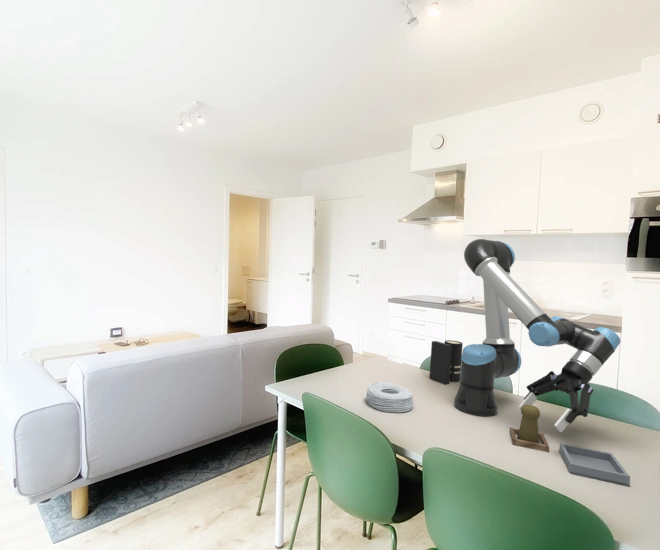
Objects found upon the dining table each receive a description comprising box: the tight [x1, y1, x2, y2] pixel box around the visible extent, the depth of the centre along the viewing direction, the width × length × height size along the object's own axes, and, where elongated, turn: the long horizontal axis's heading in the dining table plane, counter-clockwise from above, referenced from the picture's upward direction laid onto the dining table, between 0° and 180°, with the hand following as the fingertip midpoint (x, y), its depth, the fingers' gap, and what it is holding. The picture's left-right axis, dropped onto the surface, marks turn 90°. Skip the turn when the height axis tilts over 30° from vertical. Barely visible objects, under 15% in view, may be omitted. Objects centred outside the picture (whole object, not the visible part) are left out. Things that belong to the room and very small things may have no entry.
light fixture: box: [428, 339, 463, 386], centre depth 171 cm, size 10×14×18 cm
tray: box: [558, 442, 631, 487], centre depth 98 cm, size 13×13×2 cm
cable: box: [366, 381, 414, 413], centre depth 136 cm, size 18×18×6 cm
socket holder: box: [509, 427, 550, 453], centre depth 112 cm, size 10×10×2 cm
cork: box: [516, 404, 541, 444], centre depth 112 cm, size 6×6×11 cm
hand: (538, 418), depth 111 cm, fingers open, 13 cm apart
